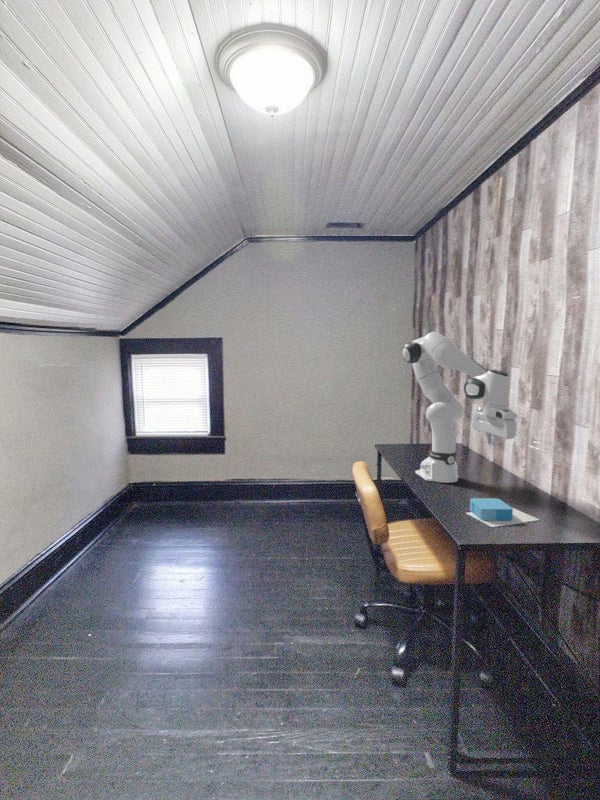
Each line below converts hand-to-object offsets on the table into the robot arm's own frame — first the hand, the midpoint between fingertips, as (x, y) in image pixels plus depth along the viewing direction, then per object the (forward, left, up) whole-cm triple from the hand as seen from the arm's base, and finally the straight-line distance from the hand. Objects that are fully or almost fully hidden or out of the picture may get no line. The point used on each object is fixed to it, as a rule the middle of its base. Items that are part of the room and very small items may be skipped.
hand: (491, 444), depth 172 cm
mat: (+12, -4, -25) cm, 28 cm away
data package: (+3, -5, -23) cm, 24 cm away
